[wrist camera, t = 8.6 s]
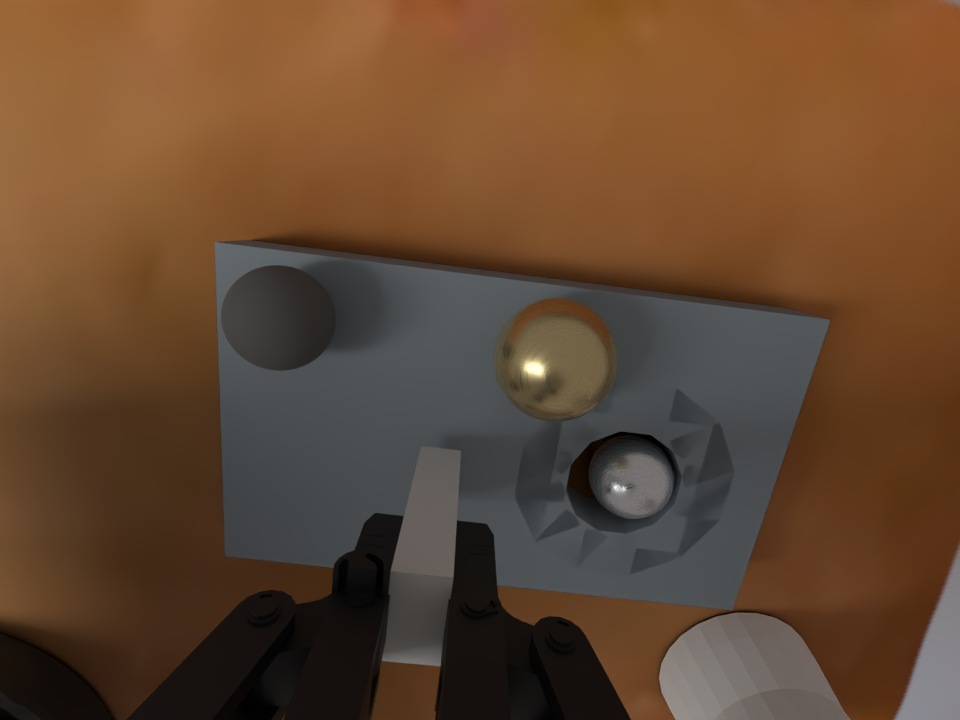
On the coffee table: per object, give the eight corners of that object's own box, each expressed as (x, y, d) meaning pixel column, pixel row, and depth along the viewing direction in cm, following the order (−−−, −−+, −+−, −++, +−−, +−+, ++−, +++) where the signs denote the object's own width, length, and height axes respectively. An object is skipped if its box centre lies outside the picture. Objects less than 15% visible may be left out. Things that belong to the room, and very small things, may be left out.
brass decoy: (485, 389, 18) (486, 435, 14) (499, 283, 16) (505, 301, 13) (589, 402, 18) (619, 450, 14) (610, 297, 17) (650, 319, 13)
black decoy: (253, 349, 17) (199, 377, 14) (252, 255, 16) (194, 262, 13) (345, 360, 17) (313, 391, 14) (349, 267, 16) (317, 278, 13)
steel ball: (579, 477, 22) (580, 524, 19) (597, 413, 21) (602, 452, 17) (653, 495, 21) (666, 546, 18) (676, 431, 20) (695, 474, 17)
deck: (253, 520, 22) (225, 556, 20) (249, 240, 18) (214, 242, 16) (705, 569, 23) (732, 610, 20) (786, 308, 19) (830, 319, 17)
